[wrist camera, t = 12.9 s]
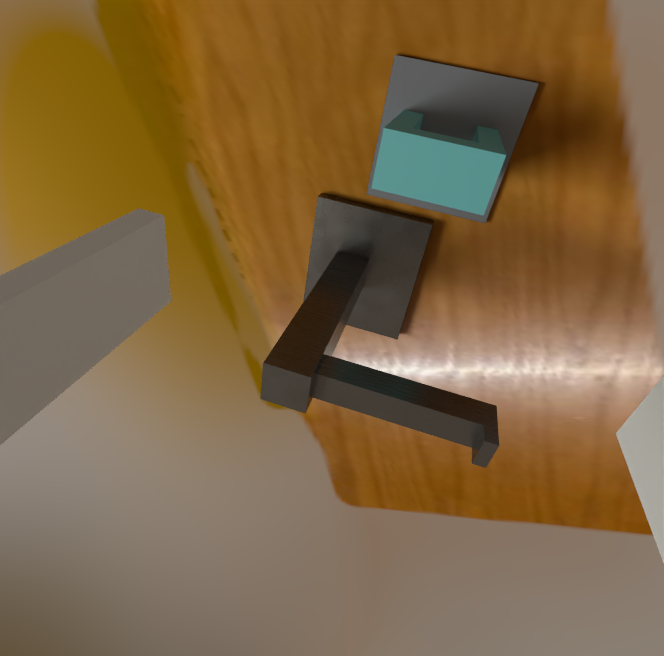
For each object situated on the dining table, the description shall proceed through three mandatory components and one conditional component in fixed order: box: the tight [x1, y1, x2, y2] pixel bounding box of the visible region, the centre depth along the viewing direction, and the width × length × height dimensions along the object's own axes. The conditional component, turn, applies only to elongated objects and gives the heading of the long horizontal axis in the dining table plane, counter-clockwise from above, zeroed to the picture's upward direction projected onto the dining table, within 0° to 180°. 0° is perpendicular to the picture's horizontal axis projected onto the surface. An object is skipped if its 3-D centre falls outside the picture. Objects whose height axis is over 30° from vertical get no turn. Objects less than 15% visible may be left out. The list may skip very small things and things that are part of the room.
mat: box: [367, 55, 539, 223], centre depth 32 cm, size 10×10×1 cm
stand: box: [261, 193, 499, 468], centre depth 32 cm, size 12×16×18 cm
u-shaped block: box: [371, 110, 506, 216], centre depth 29 cm, size 7×4×9 cm, turn 81°
